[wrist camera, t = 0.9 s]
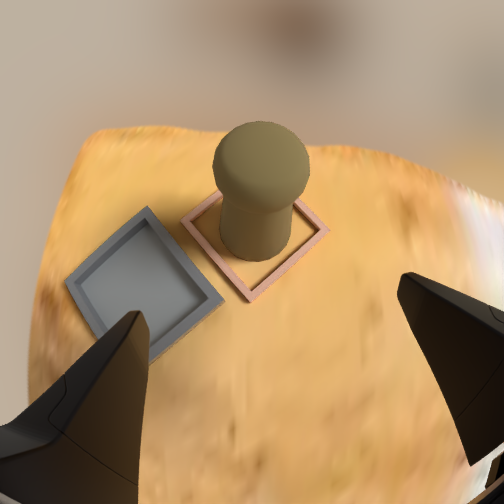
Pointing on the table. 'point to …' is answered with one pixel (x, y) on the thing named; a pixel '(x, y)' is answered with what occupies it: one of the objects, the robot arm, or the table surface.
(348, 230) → the table surface
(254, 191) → the cork
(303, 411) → the table surface
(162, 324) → the lower port socket
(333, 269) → the table surface
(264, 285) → the frame
